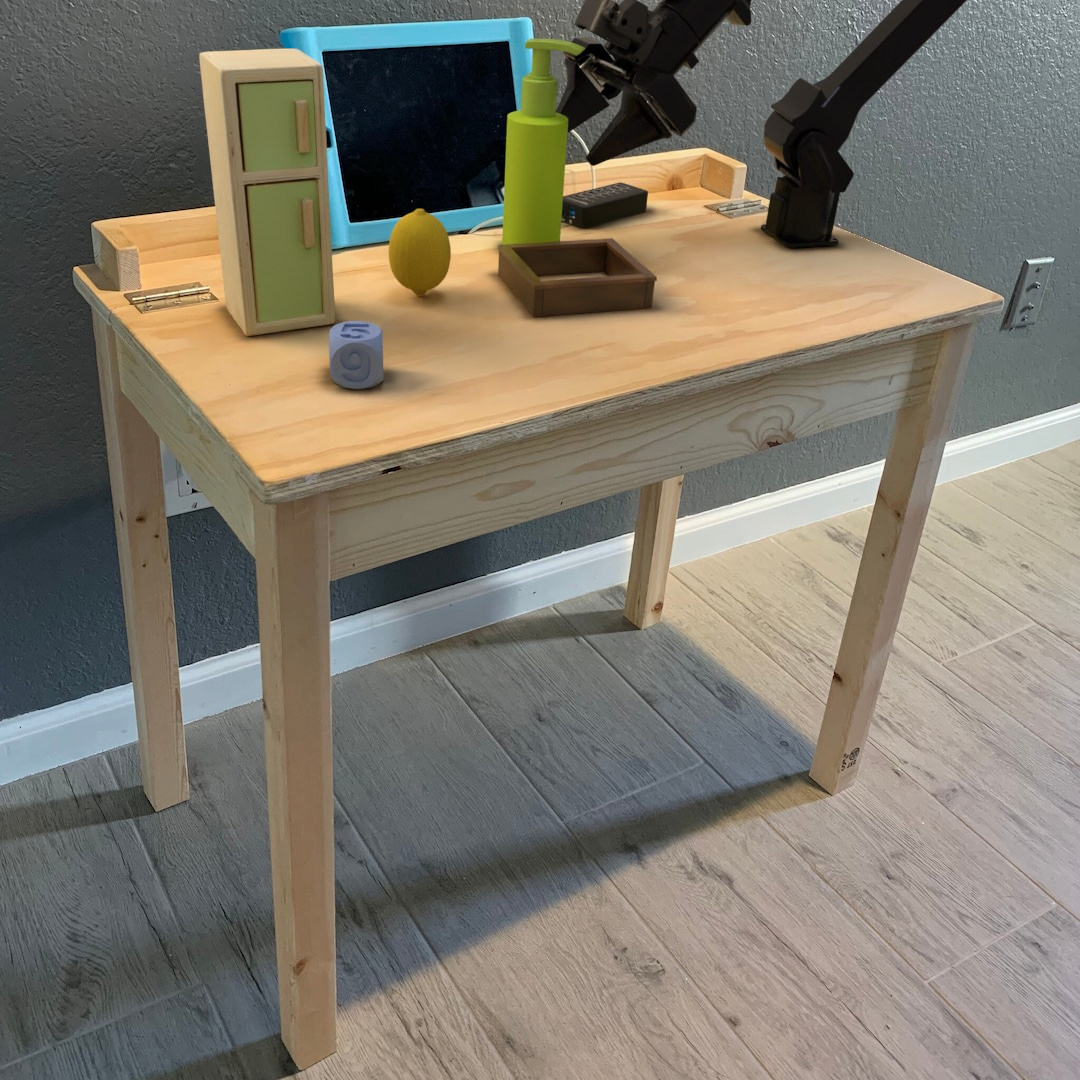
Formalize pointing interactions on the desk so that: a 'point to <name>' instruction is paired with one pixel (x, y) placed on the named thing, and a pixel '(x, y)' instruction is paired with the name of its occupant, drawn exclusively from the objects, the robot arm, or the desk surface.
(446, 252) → the lemon
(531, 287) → the brown wooden tray
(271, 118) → the toy refrigerator
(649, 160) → the desk surface
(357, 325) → the decorative dice
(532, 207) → the soap dispenser
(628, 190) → the multiport hub
